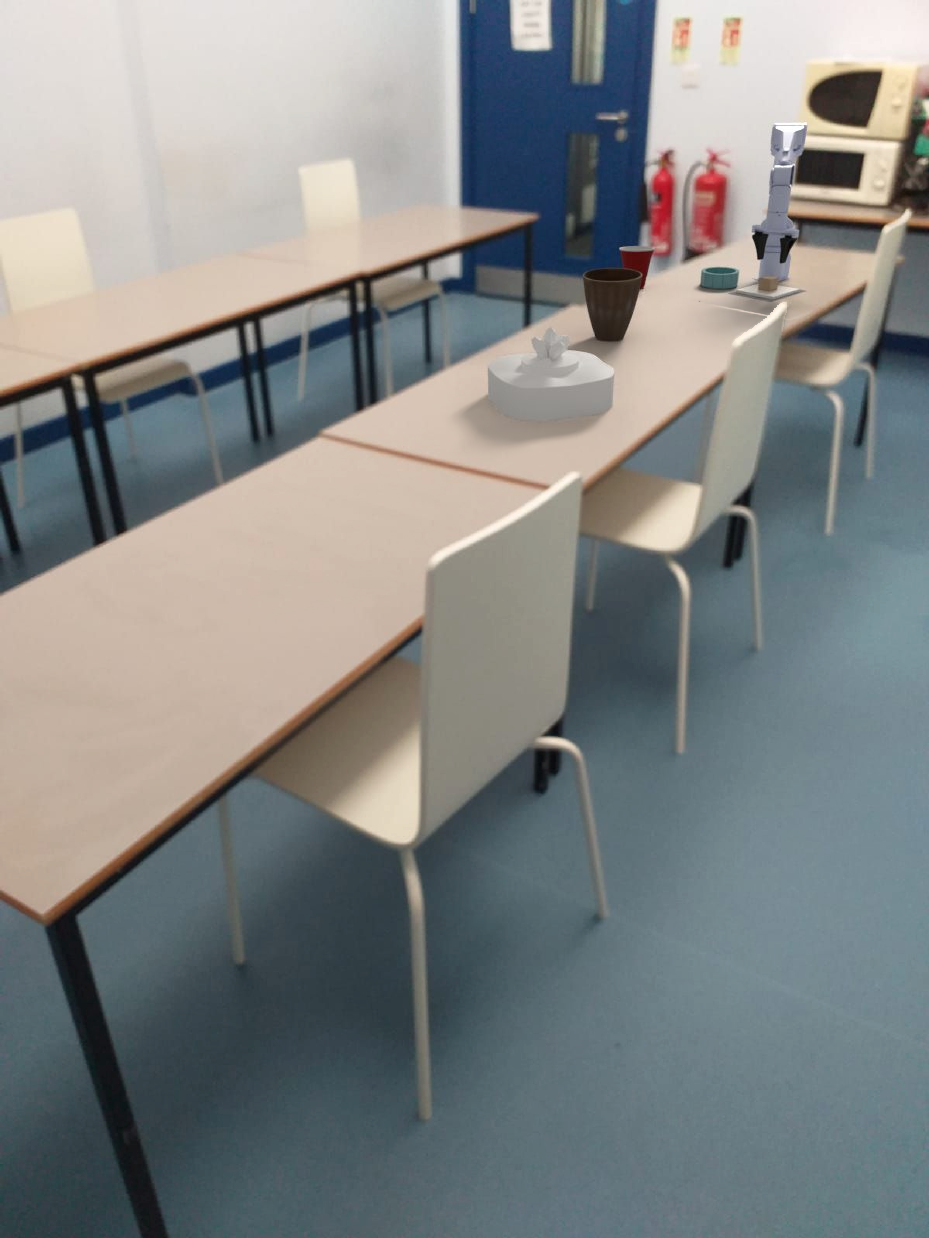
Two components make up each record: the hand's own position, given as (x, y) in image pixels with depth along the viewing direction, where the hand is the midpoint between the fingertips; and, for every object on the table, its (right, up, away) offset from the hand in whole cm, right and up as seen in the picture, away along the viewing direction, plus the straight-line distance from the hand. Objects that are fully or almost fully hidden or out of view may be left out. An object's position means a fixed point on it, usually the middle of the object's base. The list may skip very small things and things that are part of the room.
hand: (771, 261), depth 284 cm
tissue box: (-71, -57, -71) cm, 116 cm away
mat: (0, -8, +5) cm, 9 cm away
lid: (0, -8, +5) cm, 9 cm away
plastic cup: (-37, -2, +18) cm, 41 cm away
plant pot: (-52, -31, -30) cm, 68 cm away
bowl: (-12, -3, +14) cm, 19 cm away
